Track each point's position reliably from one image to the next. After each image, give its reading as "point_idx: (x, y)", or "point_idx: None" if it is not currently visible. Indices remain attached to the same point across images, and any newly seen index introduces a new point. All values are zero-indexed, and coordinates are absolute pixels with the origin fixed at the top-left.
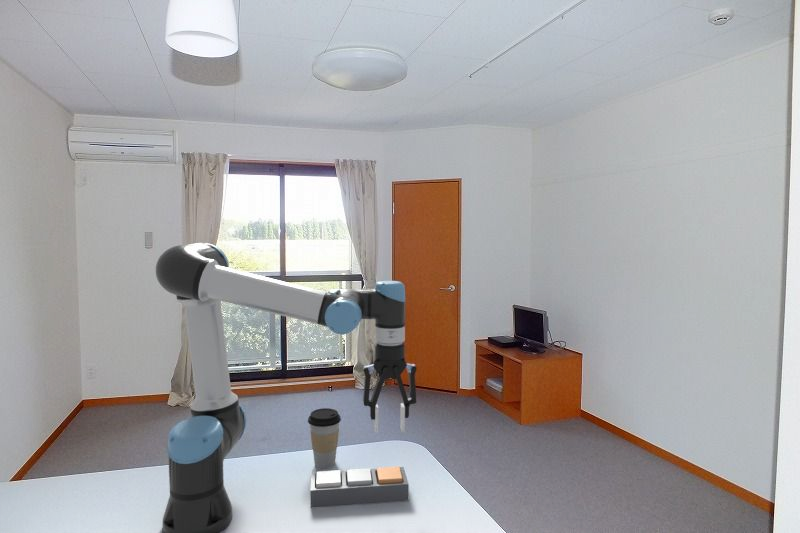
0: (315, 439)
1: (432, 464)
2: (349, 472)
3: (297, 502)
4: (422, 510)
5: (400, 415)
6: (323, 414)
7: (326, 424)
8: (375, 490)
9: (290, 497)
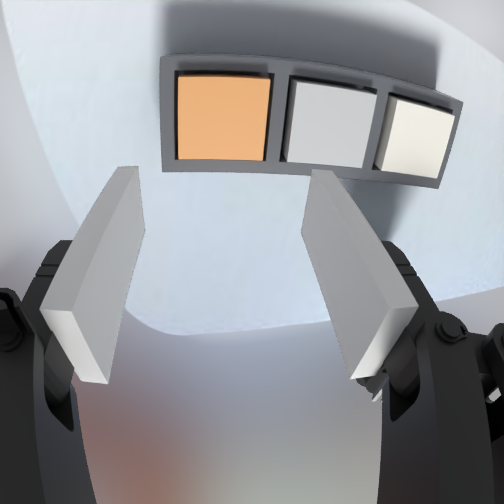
0: None
1: None
2: (359, 149)
3: None
4: (137, 7)
5: (127, 291)
6: None
7: None
8: (281, 59)
9: (459, 147)
